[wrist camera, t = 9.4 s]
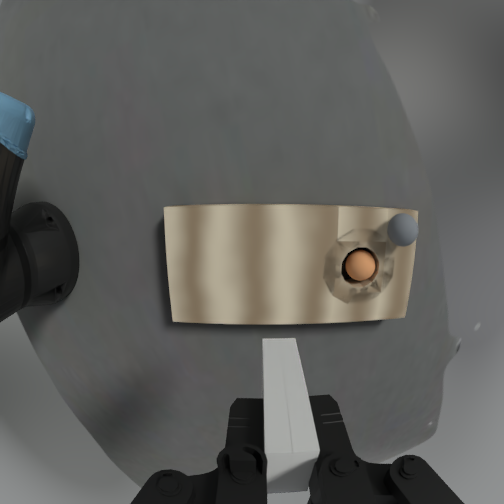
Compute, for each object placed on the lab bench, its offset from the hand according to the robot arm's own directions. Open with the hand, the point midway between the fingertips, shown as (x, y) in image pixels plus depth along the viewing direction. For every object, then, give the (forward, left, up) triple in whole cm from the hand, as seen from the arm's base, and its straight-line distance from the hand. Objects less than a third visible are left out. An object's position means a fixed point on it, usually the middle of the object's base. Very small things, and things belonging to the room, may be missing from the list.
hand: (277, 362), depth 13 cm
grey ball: (+14, +4, -15) cm, 21 cm away
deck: (+3, 0, -20) cm, 20 cm away
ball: (+11, 0, -18) cm, 21 cm away
